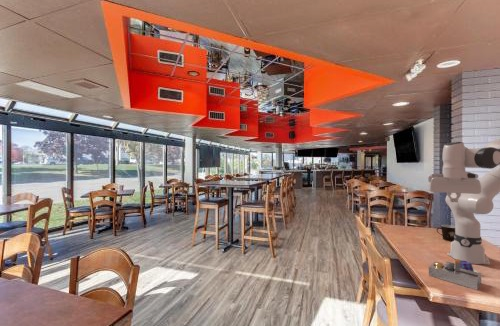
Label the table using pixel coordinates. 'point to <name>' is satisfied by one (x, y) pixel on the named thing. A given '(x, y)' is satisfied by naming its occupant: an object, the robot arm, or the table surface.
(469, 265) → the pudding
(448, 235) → the coffee mug
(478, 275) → the panel
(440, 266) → the button brass
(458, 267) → the slider
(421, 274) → the table surface
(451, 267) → the button slate
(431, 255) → the table surface
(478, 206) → the robot arm
